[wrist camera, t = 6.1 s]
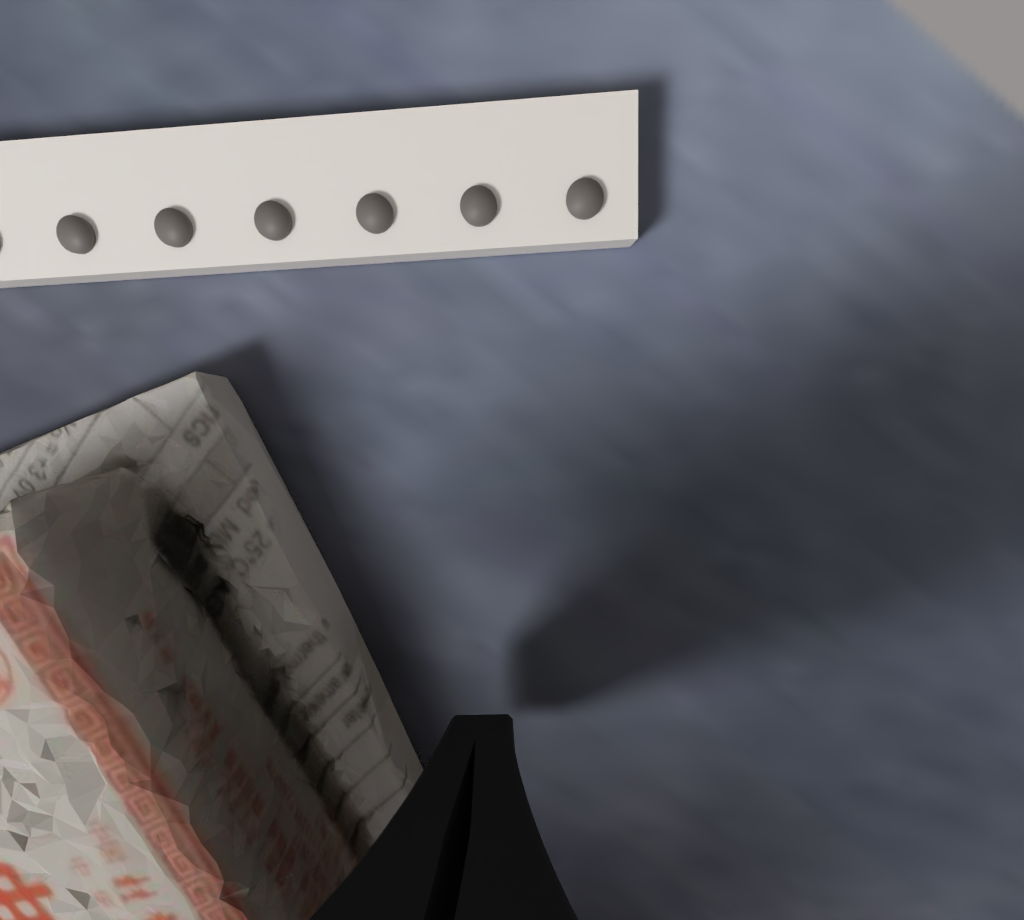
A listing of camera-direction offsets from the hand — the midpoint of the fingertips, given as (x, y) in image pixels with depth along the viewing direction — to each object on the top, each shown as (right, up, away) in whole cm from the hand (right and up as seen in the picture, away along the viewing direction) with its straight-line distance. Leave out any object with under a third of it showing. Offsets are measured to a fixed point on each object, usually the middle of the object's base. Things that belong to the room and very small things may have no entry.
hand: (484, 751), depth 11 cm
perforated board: (-5, +12, -1) cm, 13 cm away
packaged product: (-7, -1, +3) cm, 8 cm away
